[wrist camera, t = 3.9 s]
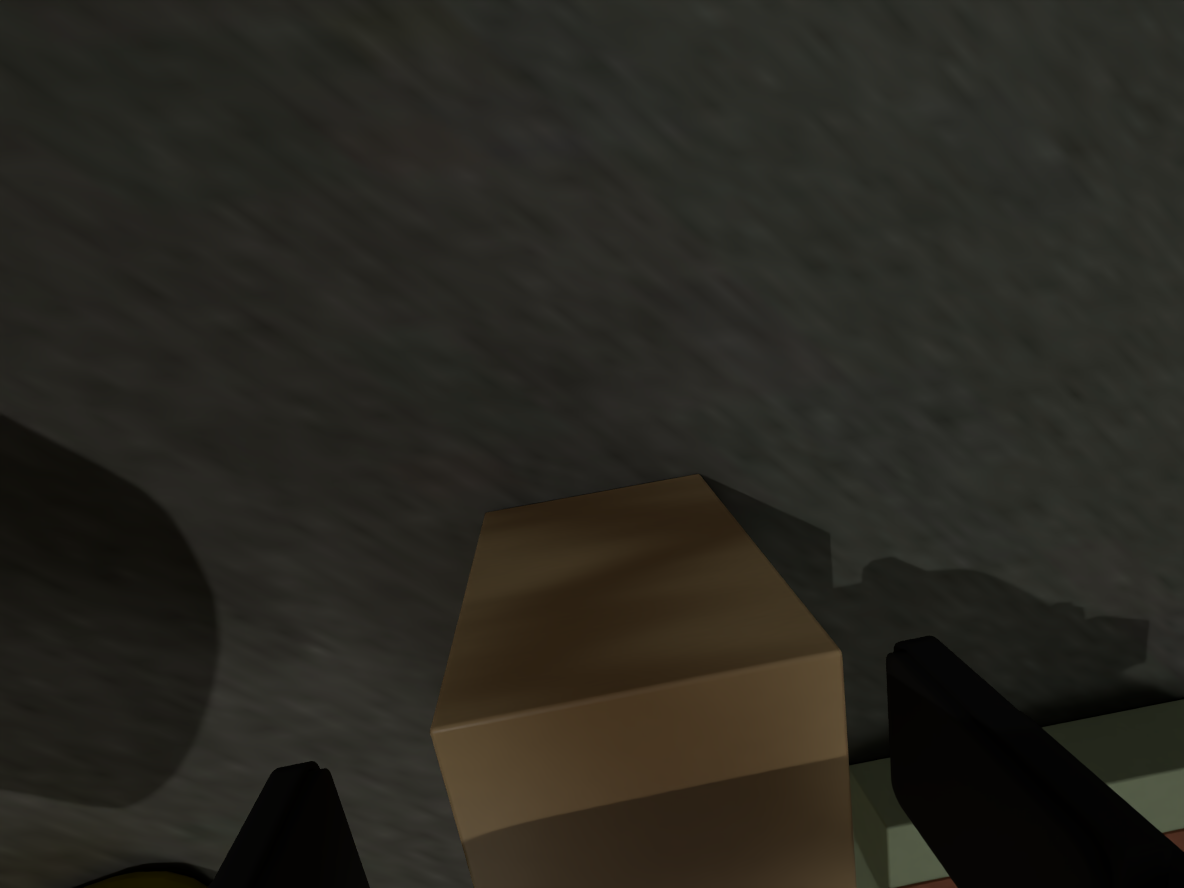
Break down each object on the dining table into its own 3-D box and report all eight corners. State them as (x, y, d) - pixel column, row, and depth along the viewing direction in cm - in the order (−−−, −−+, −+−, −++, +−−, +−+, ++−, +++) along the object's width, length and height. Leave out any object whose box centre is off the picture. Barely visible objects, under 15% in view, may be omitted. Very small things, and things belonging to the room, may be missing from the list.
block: (699, 472, 14) (844, 650, 7) (726, 692, 16) (866, 1005, 9) (484, 511, 14) (428, 731, 7) (534, 729, 15) (526, 1077, 9)
